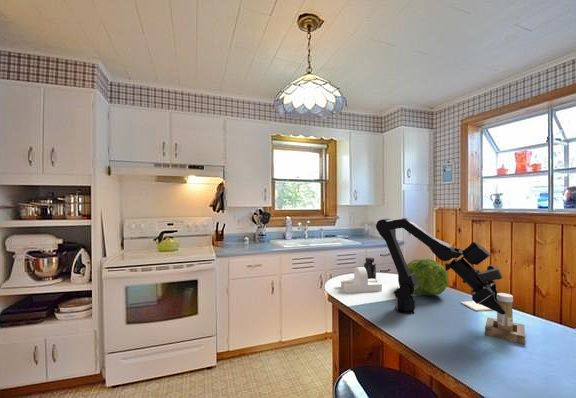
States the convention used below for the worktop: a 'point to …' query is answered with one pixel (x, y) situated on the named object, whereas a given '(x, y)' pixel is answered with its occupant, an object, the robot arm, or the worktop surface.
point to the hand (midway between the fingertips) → (505, 309)
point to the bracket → (361, 282)
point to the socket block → (505, 331)
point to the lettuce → (429, 276)
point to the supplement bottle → (370, 268)
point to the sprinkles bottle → (506, 304)
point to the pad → (475, 306)
